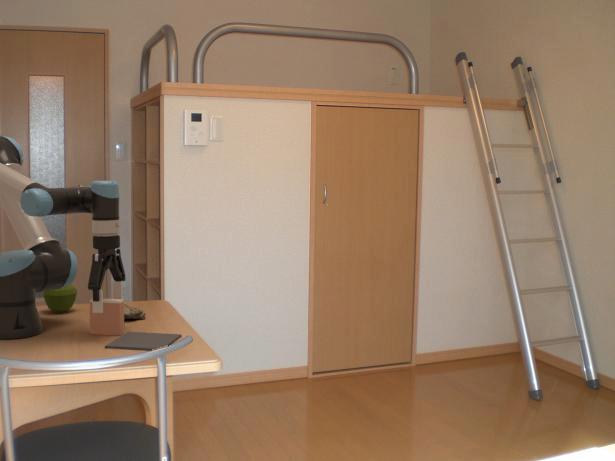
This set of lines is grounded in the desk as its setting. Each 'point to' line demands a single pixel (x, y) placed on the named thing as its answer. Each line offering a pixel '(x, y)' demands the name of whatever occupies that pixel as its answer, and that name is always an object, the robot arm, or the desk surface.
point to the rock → (133, 313)
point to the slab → (108, 318)
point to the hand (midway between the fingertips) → (108, 307)
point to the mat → (142, 341)
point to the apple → (60, 298)
